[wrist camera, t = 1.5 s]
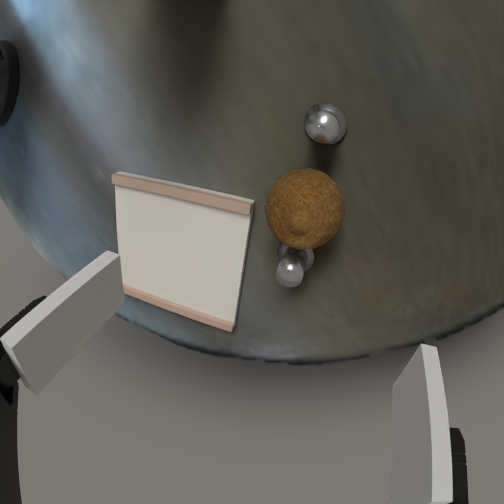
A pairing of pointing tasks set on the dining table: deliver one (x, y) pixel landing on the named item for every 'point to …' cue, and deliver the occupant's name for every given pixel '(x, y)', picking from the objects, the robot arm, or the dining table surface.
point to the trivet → (182, 246)
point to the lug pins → (324, 132)
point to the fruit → (304, 208)
